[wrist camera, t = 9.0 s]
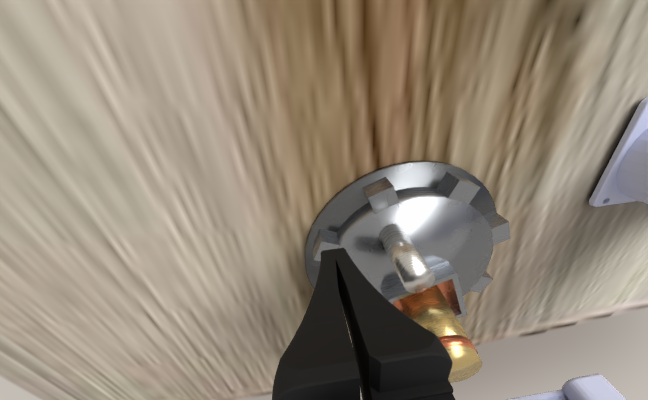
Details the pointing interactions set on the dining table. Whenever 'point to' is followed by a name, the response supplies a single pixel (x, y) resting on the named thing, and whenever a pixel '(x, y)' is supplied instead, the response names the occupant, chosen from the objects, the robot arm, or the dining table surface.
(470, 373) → the roller
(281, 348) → the dining table surface
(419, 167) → the base flange
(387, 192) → the grey toothed wheel
